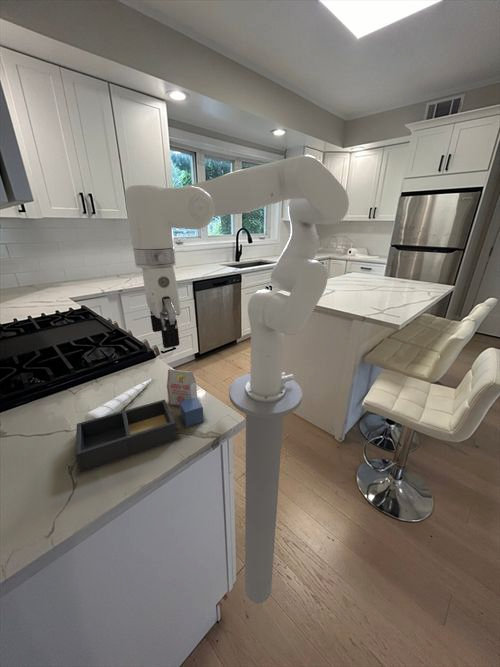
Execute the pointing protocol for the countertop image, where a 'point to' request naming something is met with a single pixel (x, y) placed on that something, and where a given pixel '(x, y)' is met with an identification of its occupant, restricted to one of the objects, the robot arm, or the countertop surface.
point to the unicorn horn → (116, 402)
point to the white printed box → (180, 386)
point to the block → (191, 411)
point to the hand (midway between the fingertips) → (165, 338)
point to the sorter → (123, 434)
